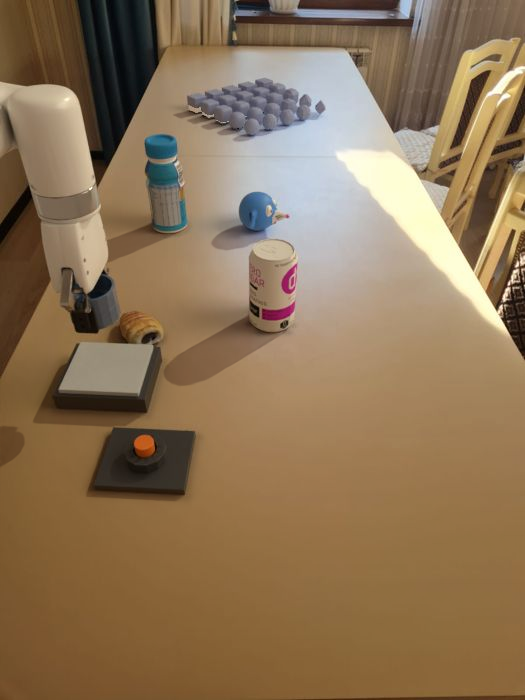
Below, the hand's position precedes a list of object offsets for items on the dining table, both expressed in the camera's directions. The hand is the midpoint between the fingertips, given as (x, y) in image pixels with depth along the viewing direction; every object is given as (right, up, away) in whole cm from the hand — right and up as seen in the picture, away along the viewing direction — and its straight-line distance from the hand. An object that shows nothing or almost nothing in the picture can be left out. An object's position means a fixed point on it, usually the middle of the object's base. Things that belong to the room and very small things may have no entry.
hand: (95, 314), depth 77 cm
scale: (0, -10, +10) cm, 14 cm away
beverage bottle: (+2, +24, +49) cm, 54 cm away
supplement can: (+26, 0, +22) cm, 34 cm away
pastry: (+2, -3, +19) cm, 19 cm away
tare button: (+8, -19, -4) cm, 21 cm away
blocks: (+22, +76, +109) cm, 135 cm away
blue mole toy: (+24, +23, +48) cm, 58 cm away
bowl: (0, 0, +1) cm, 1 cm away
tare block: (+8, -21, -2) cm, 22 cm away
